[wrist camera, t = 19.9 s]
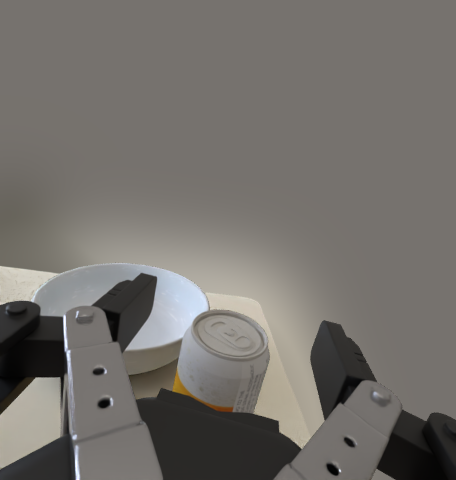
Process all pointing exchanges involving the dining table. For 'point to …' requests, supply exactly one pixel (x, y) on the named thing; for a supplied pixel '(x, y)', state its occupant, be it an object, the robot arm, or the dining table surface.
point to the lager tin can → (223, 361)
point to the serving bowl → (157, 325)
